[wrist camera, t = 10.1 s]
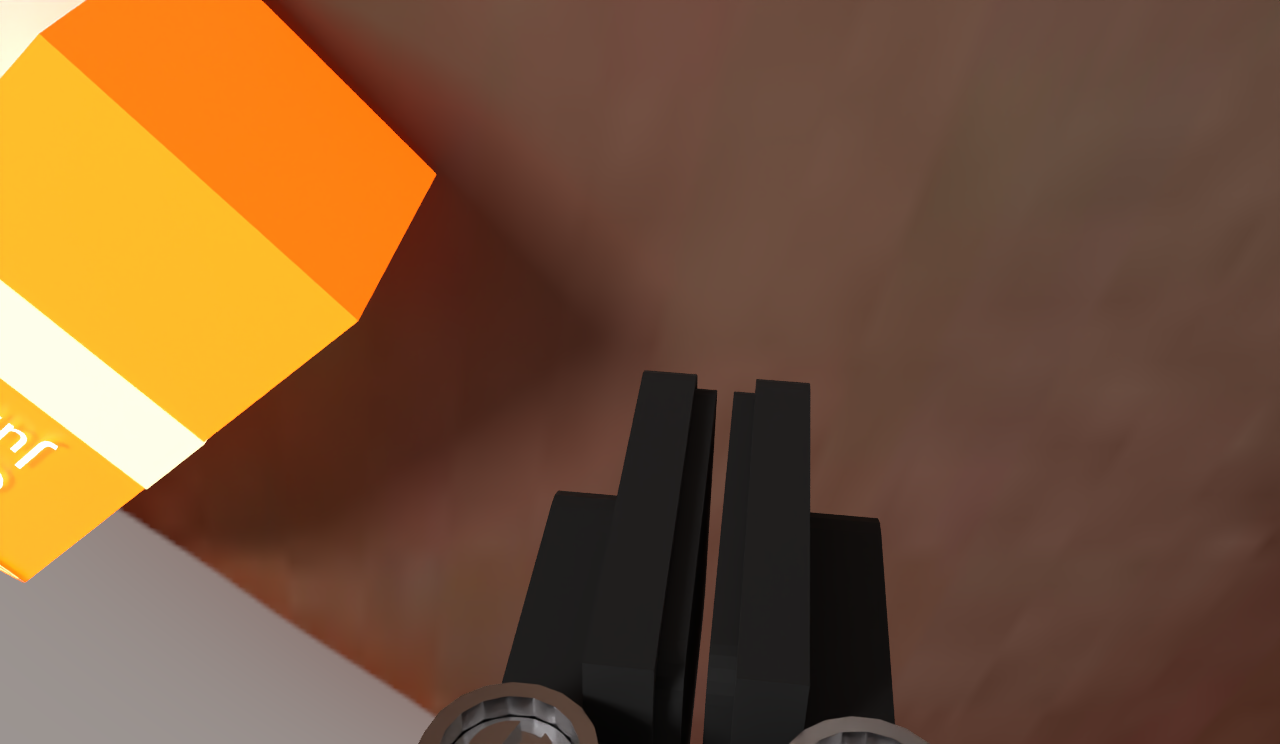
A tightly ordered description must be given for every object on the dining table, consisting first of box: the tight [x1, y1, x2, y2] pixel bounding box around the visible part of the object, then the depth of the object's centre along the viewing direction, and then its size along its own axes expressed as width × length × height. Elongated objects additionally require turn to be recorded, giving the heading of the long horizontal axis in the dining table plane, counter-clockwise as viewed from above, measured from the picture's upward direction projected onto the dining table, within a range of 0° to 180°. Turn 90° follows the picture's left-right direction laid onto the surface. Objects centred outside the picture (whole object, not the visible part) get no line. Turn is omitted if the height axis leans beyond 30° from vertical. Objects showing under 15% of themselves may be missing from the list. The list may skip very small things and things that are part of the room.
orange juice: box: [0, 0, 436, 582], centre depth 34 cm, size 8×9×20 cm
